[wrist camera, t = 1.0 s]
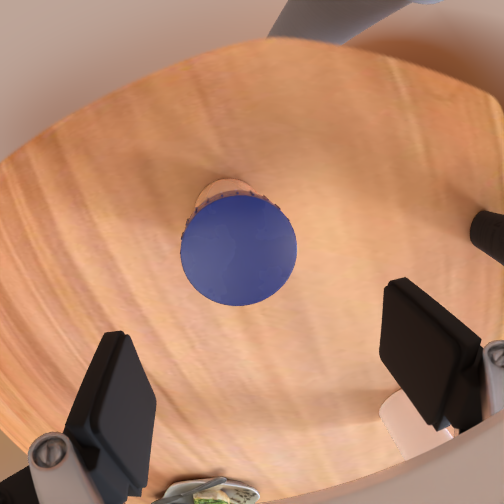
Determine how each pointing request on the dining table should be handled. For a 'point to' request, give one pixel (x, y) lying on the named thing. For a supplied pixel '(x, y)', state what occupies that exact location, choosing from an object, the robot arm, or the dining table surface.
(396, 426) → the cylindrical container
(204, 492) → the salad plate
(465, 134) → the dining table surface
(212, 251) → the lid
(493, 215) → the drinking cup
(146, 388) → the robot arm
